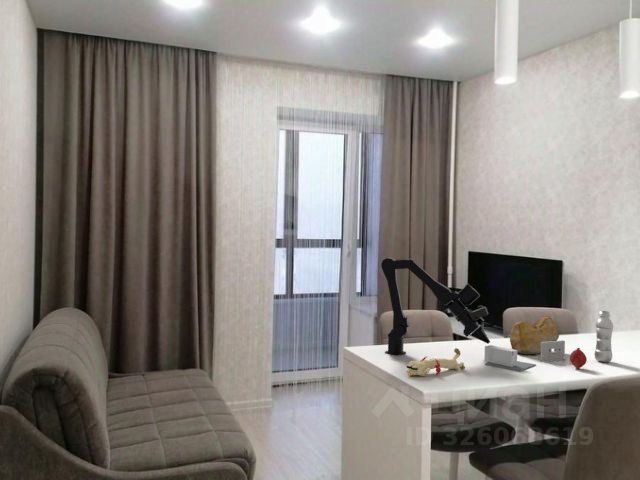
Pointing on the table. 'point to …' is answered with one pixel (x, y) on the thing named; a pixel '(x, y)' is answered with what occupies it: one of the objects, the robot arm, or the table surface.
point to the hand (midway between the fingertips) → (489, 342)
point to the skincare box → (500, 355)
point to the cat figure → (434, 365)
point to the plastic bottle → (603, 337)
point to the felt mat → (519, 367)
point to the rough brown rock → (533, 335)
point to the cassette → (552, 355)
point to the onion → (577, 358)
